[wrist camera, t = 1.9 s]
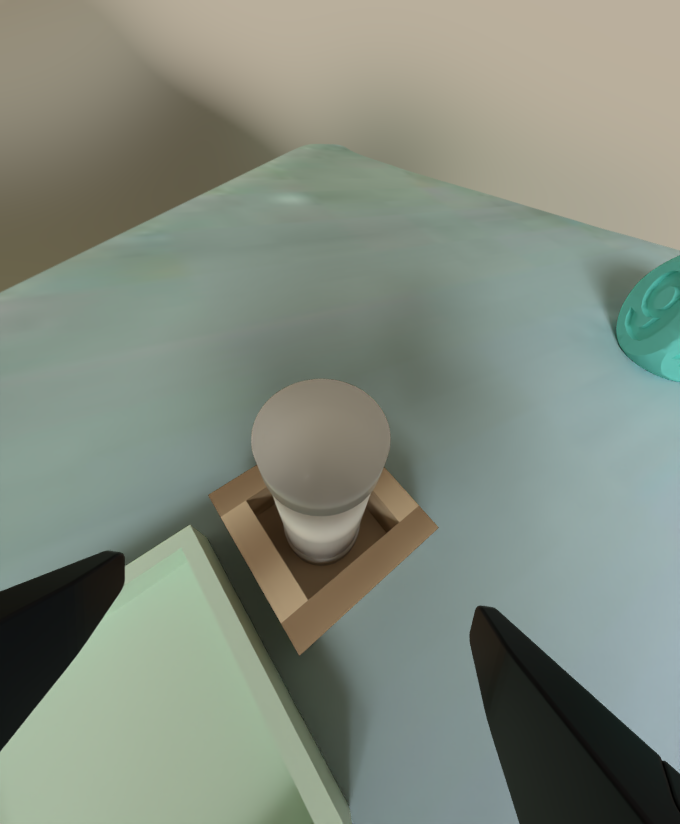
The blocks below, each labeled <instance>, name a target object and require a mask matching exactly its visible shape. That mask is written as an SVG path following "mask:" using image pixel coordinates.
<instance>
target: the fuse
mask: <svg viewBox="0 0 680 824" xmlns="http://www.w3.org/2000/svg"><path fill="white" fill-rule="evenodd" d="M390 442H391V439H390V429H389V425H388V422H387V419H386V417H385V415H384V413H383V411H382V409H381V408H380V406H379V405H378V404H377V403H376V402H375V400H374V399H373V398H371V397H370V396H369V395H368V394H367V393H365V392H364V391H362V390H361V389H359V388H357V387H355V386H353V385H351V384H348V383H345V382H342V381H338V380H332V379H311V380H305V381H301V382H297V383H295V384H292V385H290V386H287V387H285V388H283V389H282V390H280V391H279V392H277V393H276V394H275V395H273V396H272V397H271V398H270V399H269V400H268V401H267V402H266V403H265V404H264V405H263V407H262V408H261V409H260V411H259V413H258V415H257V417H256V419H255V422H254V424H253V428H252V435H251V445H252V451H253V456H254V458H255V461H256V463H257V466H258V468H259V471H260V473H261V476H262V478H263V481H264V483H265V485H266V487H267V488H268V490H269V491H270V493H271V494H272V496H273V498H274V501H275V504H276V506H277V509H278V511H279V514H280V517H281V519H282V522H283V525H284V532H285V535H286V538H287V541H288V543H289V545H290V547H291V549H292V551H293V552H294V553H295V554H296V555H297V556H298V557H299V558H300V559H301V560H303V561H305V562H306V563H309V564H312V565H318V566H325V565H330V564H333V563H336V562H338V561H340V560H341V559H343V558H344V557H345V556H346V555H347V554H348V553H349V552H350V550H351V549H352V547H353V546H354V543H355V541H356V538H357V536H358V533H359V529H360V522H361V519H362V516H363V514H364V511H365V508H366V505H367V502H368V500H369V497H370V494H371V492H372V491H373V489H374V488H375V486H376V485H377V482H378V480H379V478H380V476H381V473H382V470H383V468H384V465H385V462H386V460H387V457H388V453H389V450H390Z"/></svg>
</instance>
